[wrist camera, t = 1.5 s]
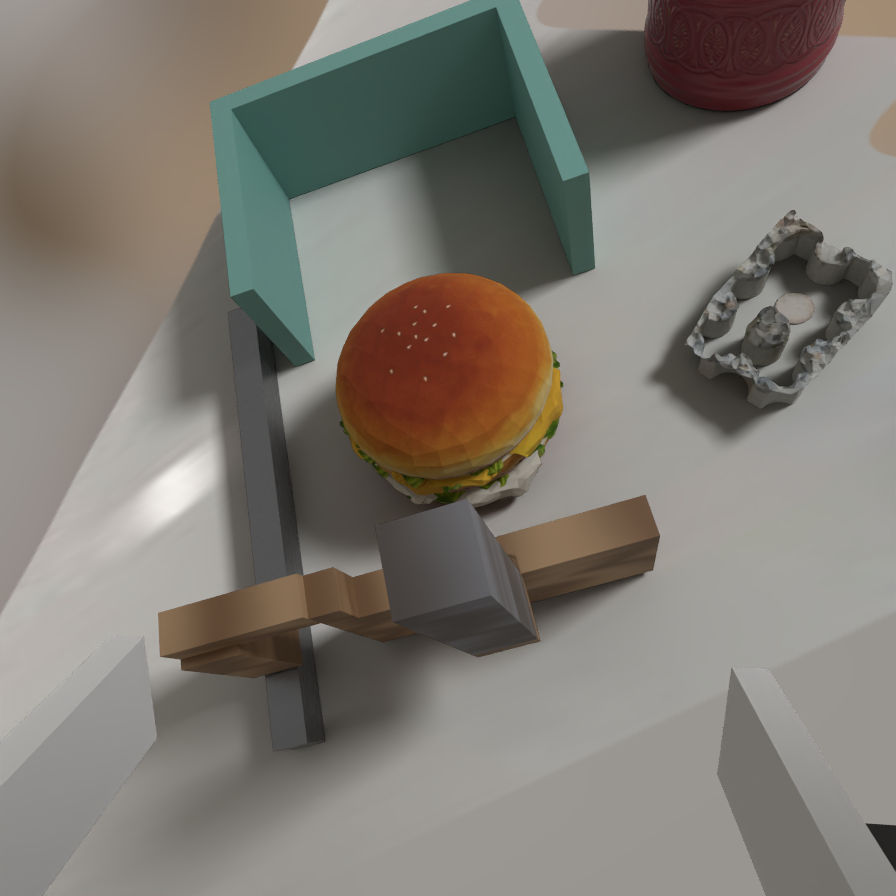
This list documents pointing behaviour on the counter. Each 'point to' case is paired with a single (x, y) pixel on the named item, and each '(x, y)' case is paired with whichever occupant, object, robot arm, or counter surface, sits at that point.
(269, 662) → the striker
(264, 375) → the rail
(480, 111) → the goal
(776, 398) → the egg carton
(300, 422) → the counter surface
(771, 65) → the canister
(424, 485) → the burger
